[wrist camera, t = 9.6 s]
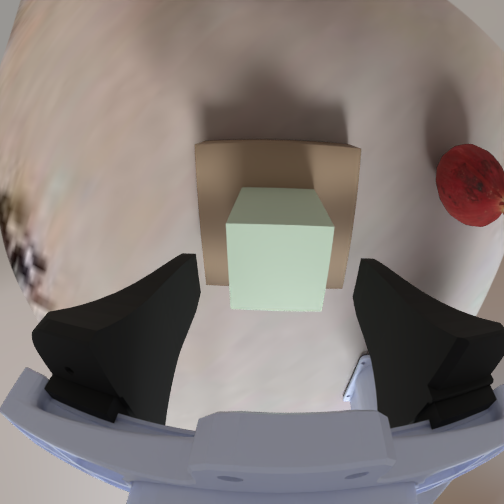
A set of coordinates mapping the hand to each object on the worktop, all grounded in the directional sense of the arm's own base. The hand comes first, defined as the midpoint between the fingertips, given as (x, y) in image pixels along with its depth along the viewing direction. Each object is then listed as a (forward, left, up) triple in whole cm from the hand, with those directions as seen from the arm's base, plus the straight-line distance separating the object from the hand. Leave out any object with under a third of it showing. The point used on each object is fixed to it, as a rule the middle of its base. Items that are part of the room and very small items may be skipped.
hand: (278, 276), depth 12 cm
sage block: (0, 0, -6) cm, 6 cm away
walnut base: (0, 0, -9) cm, 9 cm away
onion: (+4, -14, -10) cm, 17 cm away
